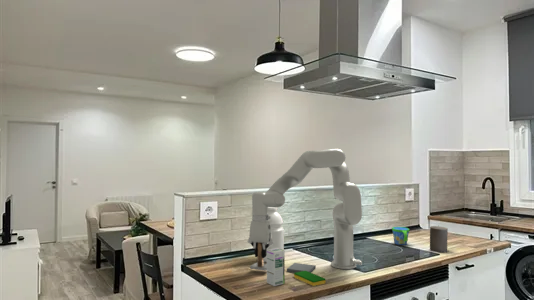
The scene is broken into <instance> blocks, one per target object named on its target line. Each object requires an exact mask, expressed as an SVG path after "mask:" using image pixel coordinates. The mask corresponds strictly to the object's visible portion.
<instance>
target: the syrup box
mask: <svg viewBox="0 0 534 300" xmlns="http://www.w3.org/2000/svg"><path fill="white" fill-rule="evenodd" d="M285 261H286V260H285V249H284V250H282V249H279V248H276V249H270V250H267V262H266V264H267V270H266V283H267V284H269V285H271V286H272V287H276V286H281V285H284V284H285V281H286V280H285V276H286V274H285V272H286V271H285V269H286V267H285V265H286V264H285Z"/></svg>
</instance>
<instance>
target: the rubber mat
mask: <svg viewBox="0 0 534 300" xmlns="http://www.w3.org/2000/svg"><path fill="white" fill-rule="evenodd" d="M316 267H317V266H316V265H314V264H307V263H299V262H294V263H292V264H291V265H289V267H287V268H286V273H293V274H294V273H297V272H301V271H308V272H310V273H313V272H314V271H315V270H316V269H317V268H316Z"/></svg>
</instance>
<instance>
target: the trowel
mask: <svg viewBox="0 0 534 300" xmlns="http://www.w3.org/2000/svg"><path fill="white" fill-rule="evenodd" d="M262 250H263V244H262V243H258V242H257V257H256V258H257V260H256V261H257V262H255V263H253V264H251V265H249V268H250V269H251V270H258V271H259V270H260V271H266V272H267V263H265V262H264V258H262Z"/></svg>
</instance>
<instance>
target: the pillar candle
mask: <svg viewBox="0 0 534 300" xmlns="http://www.w3.org/2000/svg"><path fill="white" fill-rule="evenodd" d="M448 231H449V230H448V227H446V226H439V225H431V226H430V227H429V250H430V251H432V252H435V253H447V252H448V234H449V233H448Z"/></svg>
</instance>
